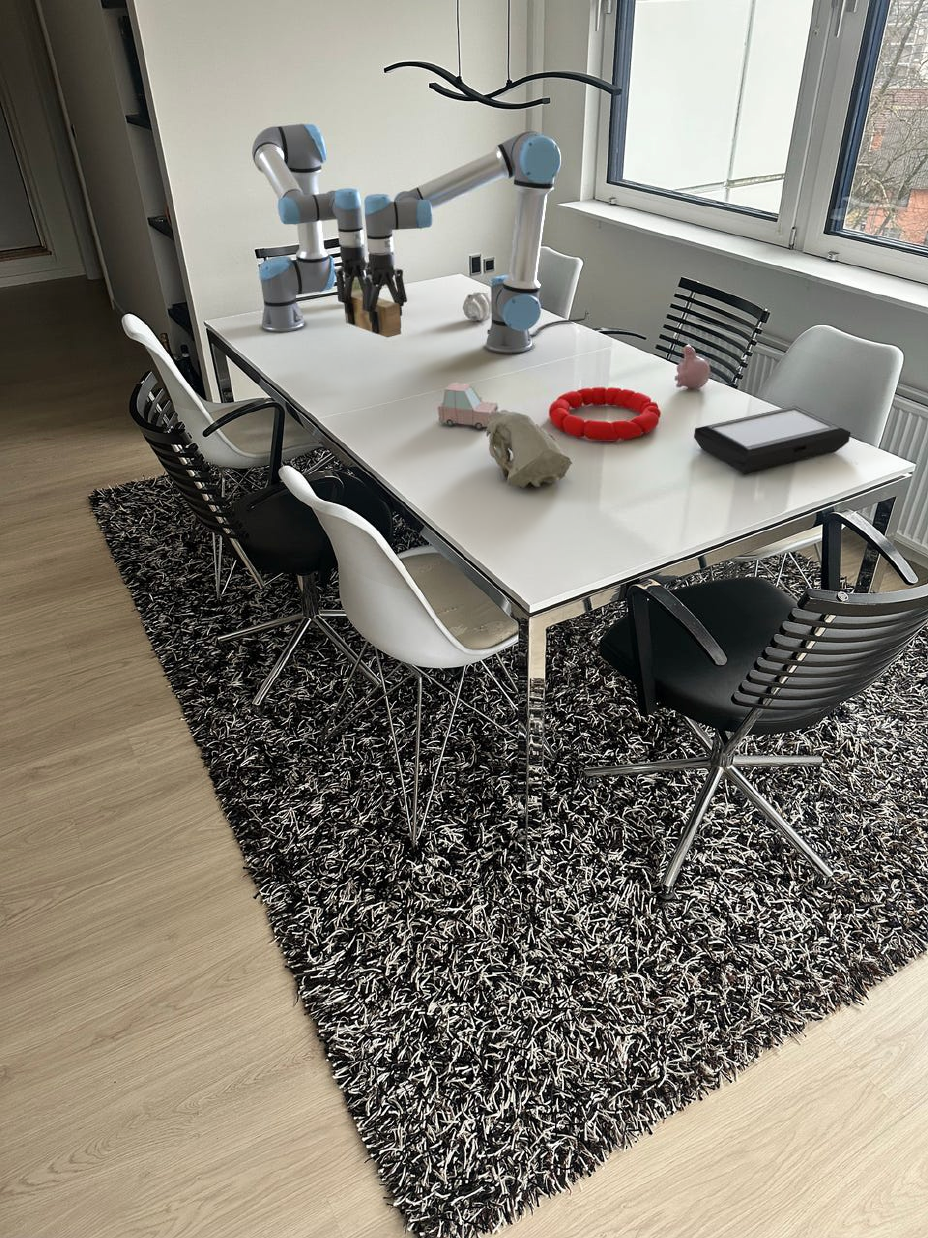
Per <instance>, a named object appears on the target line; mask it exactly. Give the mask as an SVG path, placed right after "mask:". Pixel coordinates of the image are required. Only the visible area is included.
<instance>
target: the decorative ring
mask: <svg viewBox="0 0 928 1238" xmlns="http://www.w3.org/2000/svg"><path fill="white" fill-rule="evenodd" d="M583 405H584V406H586V407H587V406H591V405H593V406H604V405H608V406H614V407H619V408H624V409H628V410H632V411H635V412H636V413H638V414H639V415H637V416H635V417H632V418H631V419H630V420H625V419H624V420H623V419H622V420H614V421H611V422H609V421H607V420H606V421H605V420H593V419H587V420H586V421H585V419H584V418H582V417H579V416H577V415H573V414H571V413H570V410H571V409H579V408H581V407H582V406H583ZM548 416H549V419H550V422H551V423H552V425H553V426H554V427H555V428H556V429H558V430H559V431H561V432H563V433H567V434H568V435H569V436H573V437H576V438H580V439H582V438H583V437H585V438H586V439H587V440H591V441H601V442H602V441H603V442H608V441H609V442H610V441H611V442H612V441H615V442H616V441H618V440H630V439H634V438H638V437H641V436H642V434H647V433H650V432H651V431H653V430H654V429H655V428H656V427H657V426H658V424H659V422H660V421H659V420H660V417H661V410H660V408H659V405H658V403H657V402H656V401H652V399H651V397H649V396H648V395H646V394H644V393H642V392H635V391H634V390H632V389H628V388H624V389H622V388H620V387H613V386H612V387H611V386H610V387H608V388H606V387H604V386H594V387H585V388H584V387H583V388H580V389H578V390H571V391H568V392H565V393H563V394H561V395H560V396H558V397H557V398H556V400H554V401H552V403H551V404H550V407H549V409H548Z"/></svg>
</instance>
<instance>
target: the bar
mask: <svg viewBox="0 0 928 1238" xmlns="http://www.w3.org/2000/svg"><path fill="white" fill-rule="evenodd" d="M350 303H353V311H354V321H355V324H354V325H352V324H349V323H348V317H347V314H346V313H345V312H344V316H345V323H346V324H348V325H352V326H354V327H356V328H359V329H363V330H365V331H368V332H370V333H373V332H372V323H370V321H369V312H368V311H365V310H363V309H362V307H363V293H362V292H359V291H353V292H352V294H351V302H350ZM375 311H376V312H378V322H379V334H378V336H382V337H385V338H392V337H395V336H399V335H402V324H401V325H400V310H399V304H397V303H394V301H391V300H388V299H384V298H381V297H378V301H377V306H376V310H375Z"/></svg>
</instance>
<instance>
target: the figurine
mask: <svg viewBox="0 0 928 1238" xmlns="http://www.w3.org/2000/svg"><path fill="white" fill-rule="evenodd" d="M682 354H683V358H684V359H683V361H682V362H679V363H678V364H677V365H676V372H677V375H675V376H674V381H675V382H676V381H677V382H676V384H675V386H676V388H681V387H686V388H688V389H693V390H694V389H695V390H696V389H700V388H703V387H704V386H705V385H706V384H707V383H708V382H709V379H710V377H711V367H710V364H709V362H708V361H706V359H704V358H702V357H700V356H697V353H696V350H695V349H694V347H692V345H690V344H686V345H685V346H684V347H683V348H682Z"/></svg>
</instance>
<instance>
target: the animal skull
mask: <svg viewBox="0 0 928 1238" xmlns="http://www.w3.org/2000/svg"><path fill="white" fill-rule="evenodd" d="M485 436H486V438H487V437H489V438H488V440H489V444H488V445H489V446H488V450H489V454H490V456H491V457H492V458H493V459H494V460H495V462H496V464H497V466H499V468H500V470H501V471H502V472H501V478H502V479H507V480H506V484H507V486H517V487H518V486H519V488H523V489H524V488H526V486H527V485H529V483H531V485H533V486H534V487H536V488H540V485H541V484H542V482H544V483H549V484H550V485H553V484H555V483H556V482H557V480H561V479H563V478H565V476H566V474H567V472H568V471H569V469H570V467H571V466H572V464H573V462H572V461H571V458H570V457H568V456H567V455H565V453H564V451H562V449H561V448H560V446H559V444H557V443H556V439H555V438H554V436H553V435H551V434H550V433H548V432H547V431H546V430H545V429H544V428H542V427H541V426H539V425H538V424H537V423H536V424H535V422H534V421H533V419H532V418H531V417H530V416H529V415H527V414H524V413H519V412H515V411H509V410H507V409H502V410H500V411H499V410H497V411H496V412H492V413H491V414H490V422H488V423H487V427H486V435H485ZM511 453H512V454H511ZM511 455H512V457H513V458H512V460H511ZM507 474H508V475H507Z"/></svg>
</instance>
